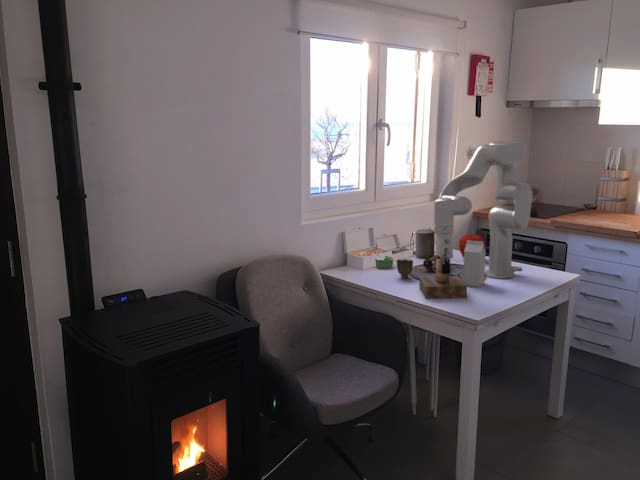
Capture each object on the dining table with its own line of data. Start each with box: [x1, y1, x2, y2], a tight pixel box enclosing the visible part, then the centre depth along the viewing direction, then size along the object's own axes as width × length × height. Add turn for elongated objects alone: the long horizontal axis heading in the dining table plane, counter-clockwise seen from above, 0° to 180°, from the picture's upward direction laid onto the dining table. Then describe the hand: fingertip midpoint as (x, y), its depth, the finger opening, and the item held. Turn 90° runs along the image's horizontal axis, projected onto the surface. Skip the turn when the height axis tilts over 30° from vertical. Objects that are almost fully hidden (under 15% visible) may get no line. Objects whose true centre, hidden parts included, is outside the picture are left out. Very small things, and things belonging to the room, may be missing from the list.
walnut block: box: [418, 275, 468, 300], centre depth 223 cm, size 16×14×5 cm
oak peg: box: [435, 258, 450, 283], centre depth 222 cm, size 5×5×14 cm
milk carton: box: [462, 240, 486, 288], centre depth 232 cm, size 7×7×19 cm
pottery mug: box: [422, 254, 439, 271], centre depth 255 cm, size 12×10×8 cm
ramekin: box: [374, 255, 394, 270], centre depth 265 cm, size 9×9×4 cm
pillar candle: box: [415, 228, 435, 260], centre depth 280 cm, size 10×10×15 cm
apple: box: [458, 234, 484, 259], centre depth 269 cm, size 12×12×14 cm
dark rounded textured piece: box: [396, 258, 414, 280], centre depth 245 cm, size 8×7×8 cm
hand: (443, 270), depth 221 cm, fingers open, 9 cm apart
